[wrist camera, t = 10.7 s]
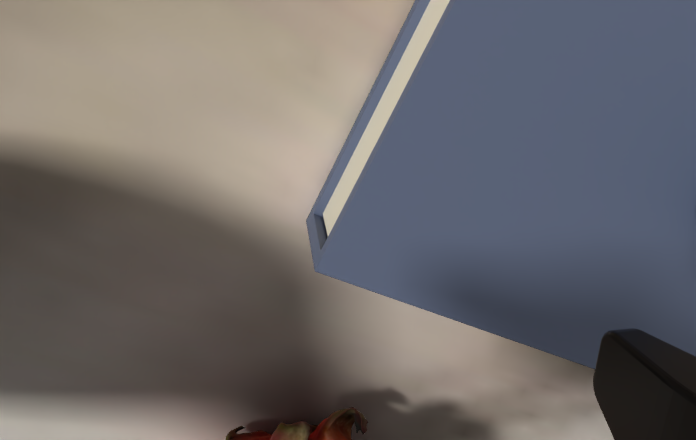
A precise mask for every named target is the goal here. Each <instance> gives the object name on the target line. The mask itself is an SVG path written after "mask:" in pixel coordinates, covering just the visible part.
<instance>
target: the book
mask: <svg viewBox="0 0 696 440" xmlns="http://www.w3.org/2000/svg"><path fill="white" fill-rule="evenodd" d="M306 222H307V228H308V234H309V240H310V246H311V252H312V257H313V263H314V269H315V272H318V273H321V274H324V275H327V276H330V277H333V278H335V279H338V280H341V281H344V282H347V283H350V284H353V285H355V286H358V287H361V288H364V289H367V290H370V291H373V292H375V293H378V294H381V295H384V296H387V297H390V298H393V299H396V300H398V301H401V302H404V303H407V304H410V305H413V306H416V307H418V308H421V309H424V310H427V311H430V312H433V313H436V314H438V315H441V316H444V317H447V318H450V319H453V320H456V321H458V322H461V323H464V324H467V325H470V326H473V327H476V328H479V329H481V330H484V331H487V332H490V333H493V334H496V335H499V336H501V337H504V338H507V339H510V340H513V341H516V342H519V343H521V344H524V345H527V346H530V347H533V348H536V349H539V350H541V351H544V352H547V353H550V354H553V355H556V356H559V357H562V358H564V359H567V360H570V361H573V362H576V363H579V364H582V365H584V366H587V367H590V368H593V369H595V368H596V363H597V358H598V353H599V348H600V343H601V339H602V337H603V335H604V334H605V333H606V332H607V331H610V330H617V329H628V328H636V329H639V330H642V331H644V332H646V333H648V334H650V335H652V336H654V337H656V338H658V339H660V340H663V341H665V342H667V343H669V344H671V345H673V346H675V347H677V348H679V349H681V350H683V351H685V352H687V353H690V354H692V355H694V356H696V0H415V2H414V4H413V6H412V8H411V10H410V12H409V14H408V16H407V18H406V20H405V22H404V24H403V26H402V28H401V30H400V32H399V34H398V36H397V38H396V41H395V43H394V45H393V47H392V49H391V51H390V53H389V55H388V57H387V59H386V61H385V63H384V65H383V67H382V69H381V71H380V73H379V75H378V77H377V79H376V81H375V83H374V85H373V87H372V89H371V91H370V93H369V95H368V97H367V99H366V101H365V103H364V105H363V107H362V109H361V111H360V113H359V115H358V117H357V119H356V121H355V123H354V125H353V127H352V129H351V131H350V133H349V135H348V137H347V139H346V141H345V143H344V145H343V147H342V149H341V151H340V153H339V156H338V158H337V160H336V162H335V164H334V166H333V168H332V170H331V172H330V174H329V176H328V178H327V180H326V182H325V184H324V186H323V188H322V190H321V192H320V194H319V196H318V198H317V200H316V202H315V204H314V206H313V208H312V210H311V212H310V214H309V216H308V218H307V220H306Z"/></svg>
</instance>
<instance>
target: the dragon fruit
mask: <svg viewBox="0 0 696 440" xmlns="http://www.w3.org/2000/svg"><path fill="white" fill-rule="evenodd" d="M354 422H355V425H356V432H357V433H358V431H359V430H361V432H362V434H363V435H364V433H365V432H366V430H367V423H368V421H367V420H366V419H365V418H364V415H363V414H362V413H360V412H358V411H357V410H356V409H355V408H354V407H351V408H348V409H342V410H338V411H336V412H334V413H332V414H331V415H330V416H329V417H328V418H326V419H324V420H323V421H322V422H321V423H320V424H319V425H311V424H308V423H307V422H305V421H299V422H295V423H292V424H285V423H282V422H281V423H280V424H279V426H278V427H277V428H276V430H275V431H274V433H273V434H272V435H271V434H269V433H267V432H265V431H262V430H260V431H256V432H251V433H242V434H237V433H236V432H238V431H239V430H241V429H243V428H245V427H243V426H240V427H238V428H236V429H234V430H231V431H230V432H229V433H228V435H227V437H226V440H351V428H352V425H353V424H354Z"/></svg>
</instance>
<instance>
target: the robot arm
mask: <svg viewBox="0 0 696 440" xmlns="http://www.w3.org/2000/svg"><path fill="white" fill-rule="evenodd" d="M593 386H594V392H595V396H596V398H597V401H598V403H599V405H600V408H601V410H602V412H603V414H604V417H605V419H606V421H607V424H608V426H609V428H610V430H611V433H612V435H613V437H614V439H615V440H696V356H694V355H692V354H690V353H687V352H685V351H683V350H681V349H679V348H677V347H675V346H673V345H671V344H669V343H667V342H665V341H663V340H660V339H658V338H656V337H654V336H652V335H650V334H648V333H646V332H644V331H642V330H639V329H636V328H628V329H617V330H610V331H607V332H606V333H605V334H604V335H603V337H602V339H601V343H600V348H599V353H598V358H597V363H596V368H595V373H594V379H593Z"/></svg>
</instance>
